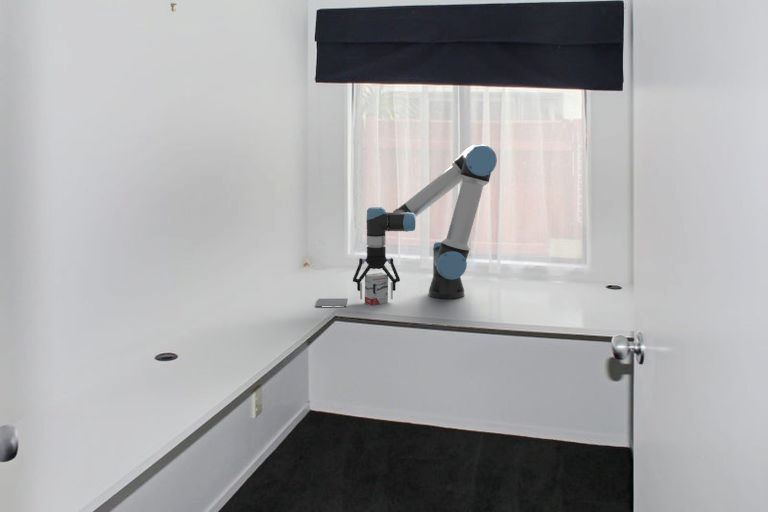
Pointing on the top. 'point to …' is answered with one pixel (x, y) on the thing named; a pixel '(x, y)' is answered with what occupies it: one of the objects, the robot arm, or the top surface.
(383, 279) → the ink box
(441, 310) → the top surface
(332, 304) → the slate coaster
